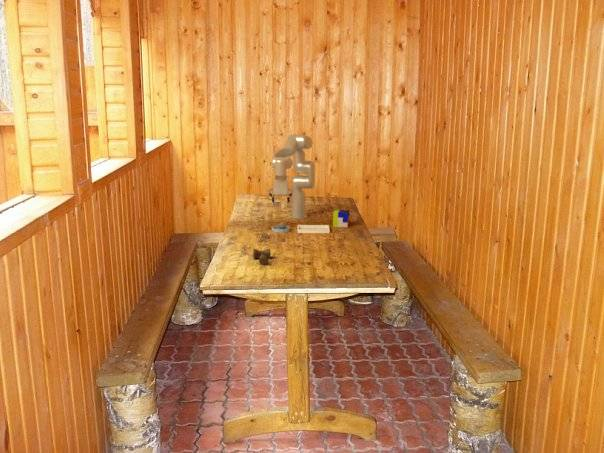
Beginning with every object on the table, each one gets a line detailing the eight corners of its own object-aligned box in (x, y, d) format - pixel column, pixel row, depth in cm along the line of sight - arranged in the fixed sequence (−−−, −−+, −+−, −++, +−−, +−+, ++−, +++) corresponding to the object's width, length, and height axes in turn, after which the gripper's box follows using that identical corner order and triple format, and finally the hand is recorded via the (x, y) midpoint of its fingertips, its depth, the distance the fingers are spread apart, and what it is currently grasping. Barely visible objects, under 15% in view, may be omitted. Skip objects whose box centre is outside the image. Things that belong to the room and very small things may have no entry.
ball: (277, 226, 400) (280, 220, 399) (284, 229, 400) (287, 223, 399) (277, 228, 395) (280, 222, 394) (284, 231, 395) (287, 225, 394)
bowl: (272, 228, 404) (272, 225, 403) (289, 228, 404) (289, 225, 403) (271, 232, 392) (271, 229, 391) (289, 232, 392) (289, 229, 392)
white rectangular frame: (297, 228, 404) (297, 224, 404) (328, 228, 404) (328, 225, 404) (297, 233, 391) (297, 229, 391) (329, 233, 392) (329, 229, 391)
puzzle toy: (347, 227, 409) (347, 213, 407) (333, 226, 411) (333, 212, 409) (349, 224, 419) (349, 210, 416) (335, 223, 420) (335, 209, 418)
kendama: (254, 266, 318) (252, 255, 337) (272, 266, 320) (269, 255, 339) (255, 256, 317) (252, 245, 336) (272, 255, 318) (269, 245, 337)
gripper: (293, 176, 394) (293, 201, 398) (267, 176, 394) (268, 201, 398) (293, 178, 387) (293, 204, 391) (267, 178, 387) (267, 204, 391)
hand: (280, 203), depth 395 cm, fingers open, 9 cm apart
